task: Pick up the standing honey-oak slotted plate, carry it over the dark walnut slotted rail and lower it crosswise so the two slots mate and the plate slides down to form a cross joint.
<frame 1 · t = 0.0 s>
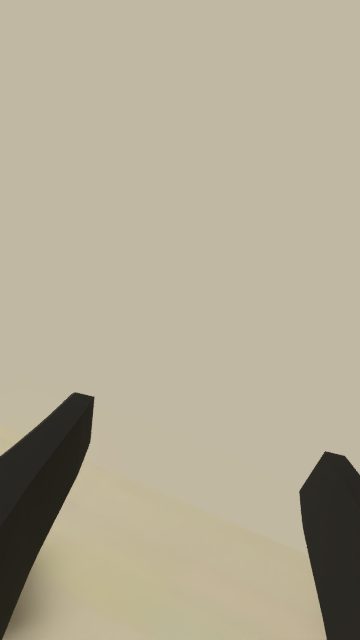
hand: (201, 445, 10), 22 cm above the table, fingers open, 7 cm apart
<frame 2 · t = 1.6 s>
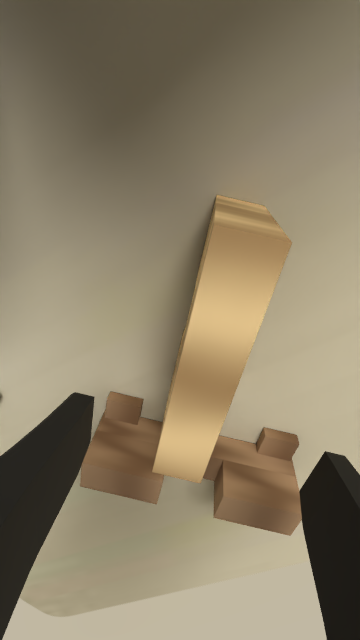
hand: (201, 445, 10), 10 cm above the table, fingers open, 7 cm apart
walnut rail: (194, 441, 24), on the table
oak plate: (210, 306, 19), on the table
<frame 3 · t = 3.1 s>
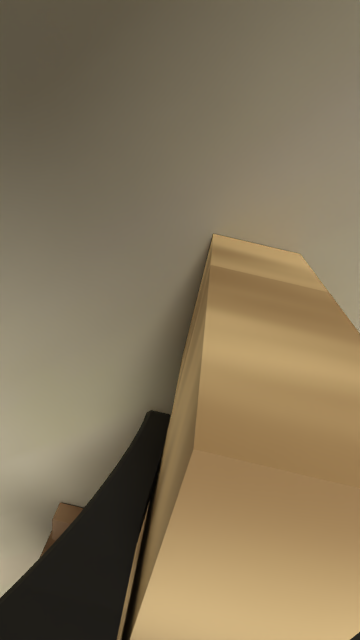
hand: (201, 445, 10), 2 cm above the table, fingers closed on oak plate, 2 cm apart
walnut rail: (182, 564, 17), on the table
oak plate: (204, 404, 11), on the table, touching gripper
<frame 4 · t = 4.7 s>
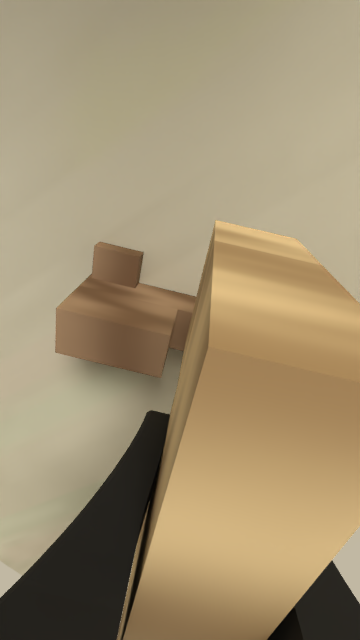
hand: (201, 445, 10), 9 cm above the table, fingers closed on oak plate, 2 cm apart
walnut rail: (209, 319, 18), on the table
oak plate: (206, 388, 12), point 7 cm above the table, touching gripper
when the fingers open (5 cm above the table, at t = 6.3 s): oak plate drops 2 cm, on the table.
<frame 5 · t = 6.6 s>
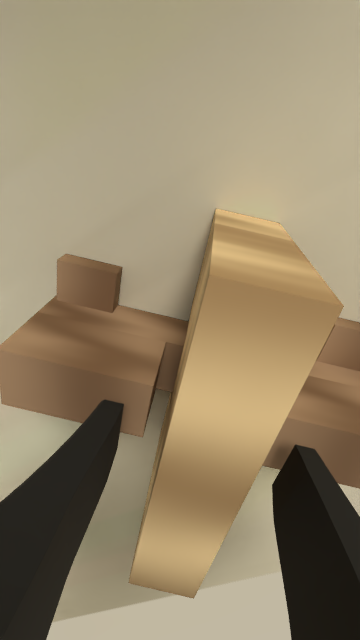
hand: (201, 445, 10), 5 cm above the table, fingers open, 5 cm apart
walnut rail: (208, 349, 15), on the table
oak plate: (208, 347, 15), on the table
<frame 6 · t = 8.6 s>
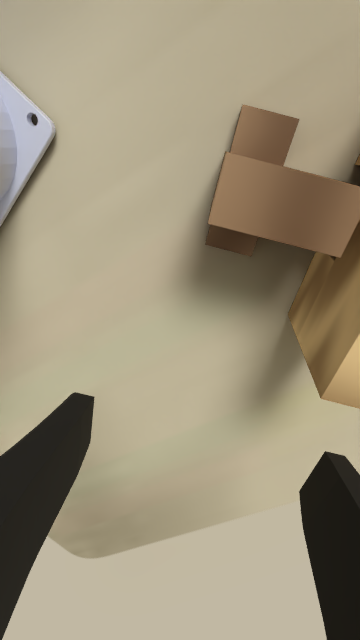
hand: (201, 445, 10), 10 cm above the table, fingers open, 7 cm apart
walnut rail: (359, 215, 15), on the table
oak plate: (359, 213, 15), on the table
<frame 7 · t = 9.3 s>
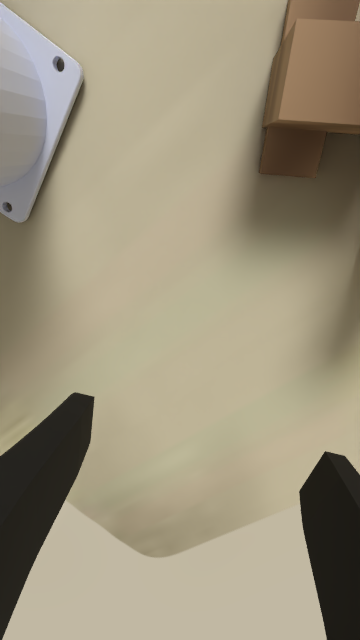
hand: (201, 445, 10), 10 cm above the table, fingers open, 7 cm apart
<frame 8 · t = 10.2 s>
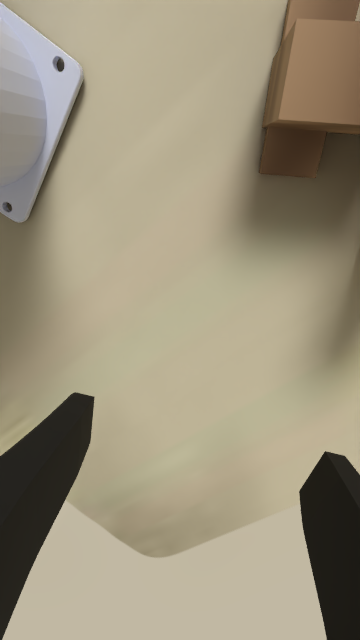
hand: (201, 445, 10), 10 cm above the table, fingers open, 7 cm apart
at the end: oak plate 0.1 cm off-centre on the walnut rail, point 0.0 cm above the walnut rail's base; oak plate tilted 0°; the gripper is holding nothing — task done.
